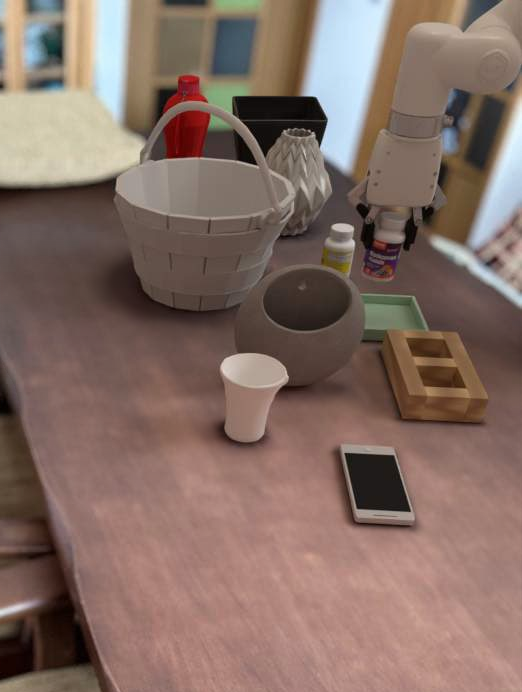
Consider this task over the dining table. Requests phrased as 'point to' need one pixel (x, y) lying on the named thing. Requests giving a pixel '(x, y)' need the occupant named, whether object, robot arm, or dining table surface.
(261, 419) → the cup
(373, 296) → the tray
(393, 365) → the frame
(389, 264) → the pill bottle
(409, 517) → the smartphone
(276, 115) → the flower pot
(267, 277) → the planter
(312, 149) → the vase
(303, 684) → the dining table surface
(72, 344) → the dining table surface
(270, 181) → the basket
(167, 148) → the water bottle
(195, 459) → the dining table surface
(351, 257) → the supplement bottle
